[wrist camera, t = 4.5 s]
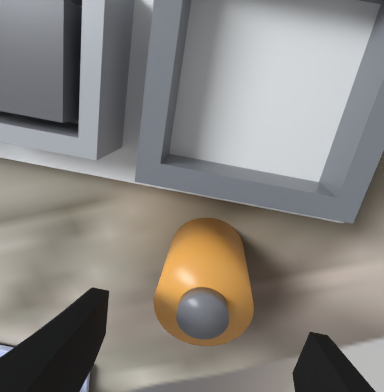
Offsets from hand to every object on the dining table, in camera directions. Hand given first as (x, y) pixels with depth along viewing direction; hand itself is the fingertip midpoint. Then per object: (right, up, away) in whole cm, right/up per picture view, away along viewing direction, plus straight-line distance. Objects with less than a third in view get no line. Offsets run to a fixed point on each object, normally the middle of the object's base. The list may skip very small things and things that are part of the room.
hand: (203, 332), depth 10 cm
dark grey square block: (-5, +10, 0) cm, 11 cm away
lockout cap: (0, +2, +5) cm, 6 cm away
